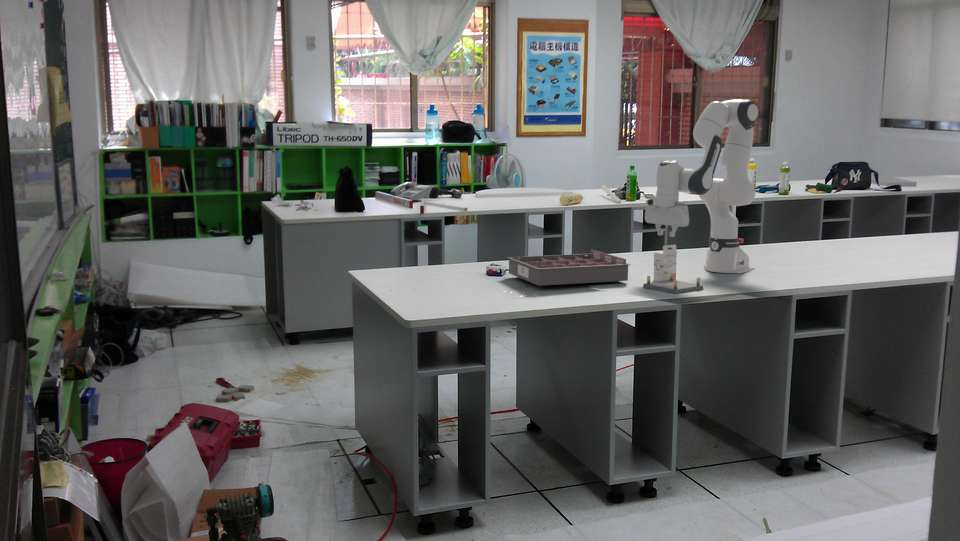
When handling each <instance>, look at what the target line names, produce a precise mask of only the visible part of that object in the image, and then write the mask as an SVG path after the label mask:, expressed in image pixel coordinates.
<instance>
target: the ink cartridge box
mask: <svg viewBox="0 0 960 541" xmlns="http://www.w3.org/2000/svg"><path fill="white" fill-rule="evenodd" d="M669 248H670V249H669ZM677 254H678V252H677V244H668V245H663V246H662V250H661V251H655V252H653V255H654V256H653V282H658V281H665V280H670V273H673V280H676V281H677V278H676V277H677V259H678V258H677V257H678V256H677Z"/></svg>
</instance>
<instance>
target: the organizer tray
mask: <svg viewBox="0 0 960 541" xmlns="http://www.w3.org/2000/svg"><path fill="white" fill-rule="evenodd" d="M506 259H508V274H510V275H512V276H514V277H517V278H519V279H522V280H524V281H527V282H529V283H531V284H534V285H536V286H554V285H555V286H557V285H559V286H560V285H576V284H590V283H610V282H612V283H613V282H626V281H627V282H628V280H629V266H631V264H630V263H627V259H626V258H622V257H619V256H616V255H613V254H610V253H609V254H608V253H606V252H602V251H598V250H594V249H591V250H590V253H574V254H573V253H571V254H570V253H569V254H553V255H530V256H529V255H527V256H510V257H509V256H508V257H506Z"/></svg>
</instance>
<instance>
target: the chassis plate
mask: <svg viewBox="0 0 960 541" xmlns="http://www.w3.org/2000/svg"><path fill="white" fill-rule="evenodd" d="M646 277H647V278H646V283H643V284H642V287H643V288H644V289H650V290H655V291H660V292H665V293H670V294H676V295H678V294H681V293H689V292H694V291H700V290H704V285H703V284H701V277H700V276H699V277H698V276H697V277H696V283H692V282H686V281H681V280H677V279H676V280H673V273H670V280H665V281H653V282H652V281H651V275H647V276H646Z"/></svg>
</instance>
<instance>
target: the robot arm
mask: <svg viewBox="0 0 960 541" xmlns="http://www.w3.org/2000/svg"><path fill="white" fill-rule="evenodd" d="M759 109H760V108H759V107H758V104H757V102H756V101H754V100H750V99H747V98H746V99H729V100H727V99H726V100H724V101H722V100H720V101H718V100H716V101H711V102H709V103H708V105H706V107H705V109H704V110H703V111H702V112H701V114H700V115H699V118H698V119H697V121H696V122H695V125H694V128H693V131H692V136H693V139H694V141H695V142H696V143H697V145H699V146H700V147H702V148H703V149H704V150H705V152H704V157H703V158H702V161H701V165H700V166H699V167H697V168H685V167H683V166H682V165H680V164H679V162H678V161H677V160H675V159H672V160H671V159H669V160H663V161H661V162H660V163H658V166H657V170H656V180H655V181H656V186H657V187H656V189H657V190H656V192H655V193H656V194H655V196H654V197H652V198H648V199H646V200H645V205H646V206H645V209H644V211H645V212H644V221H645V222H646V223H647V224H654V225H655V228H656V231H657V235H658V236H663V235H664V230H663V229H662V228H661V227H662V225H664V226H671V231H670V232H668V234H669V238H674V237H675V236H676V232H677V230H678V228H679V227H681V228H685V227H688V226H689V224H690V215H689V214H690V213H689V206H688V205H687V204H686V203H685V202H679V196H680V193H686V194H687V193H689V194H694V195H698V196H699V199H700V200H701V201H702V202H703V203H704V205H705V206H706V208H707V210H708V213H709V217H710V236H709V238H708V239H709V240H708V246H709V248H708V249H707V253H706V259H705V265H703V269H704V270H705V271H708V272H712V273H713V272H714V273H720V274H723V273H724V274H743V273H747V272H749V271H753V270H755V267H754V266H750V256H749V255H748V253H746V252H745V251H744V250H743V248H741V247H740V246H741V245H740V244H744V238H738V231H739V220H738V217H736V216H735V215H734V214H733V213H732V212H731V209H730V206H734V207H741V206H742V207H743V206H748V205H750V204H751V203H752V202H753V201H754V199H755V197H756V188H755V186H754V184H753V183H752V182H751V180H750V179H749V176H748V165H749V160H750V156H751V152H752V148H753V143H754V136H755V130H754V129H755V128H754V126H755V125H756V122H757V121H758V119H759V113H760V110H759ZM725 127H726V128H727V127H728V134H727V137H726V140H725V143H724V147H723V140H722V138H721V137H722V134H723V131H724V129H725ZM722 149H723V150H722ZM721 152H722V153H721ZM721 154H722V155H721ZM720 155H721V156H720ZM720 157H721V158H720ZM719 159H720V164H721V166H722V168H723V169H724V170H726V178H719V177H718V178H716V177H714V175H715V171H716V168H717V165H718V162H719Z"/></svg>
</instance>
